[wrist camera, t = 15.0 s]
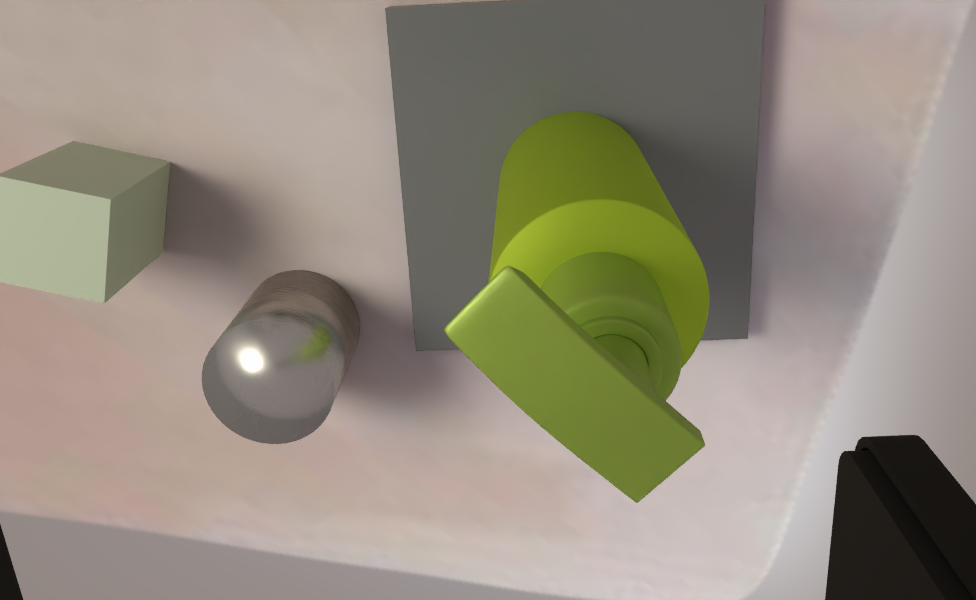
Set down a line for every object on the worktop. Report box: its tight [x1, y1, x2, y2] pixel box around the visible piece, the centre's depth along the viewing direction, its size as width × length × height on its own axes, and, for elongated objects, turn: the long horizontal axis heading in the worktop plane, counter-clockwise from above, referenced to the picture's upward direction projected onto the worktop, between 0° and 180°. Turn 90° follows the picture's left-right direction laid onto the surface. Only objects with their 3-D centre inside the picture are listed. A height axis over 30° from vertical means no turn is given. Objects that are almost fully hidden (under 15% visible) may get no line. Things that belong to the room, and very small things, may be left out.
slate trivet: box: [385, 0, 765, 351], centre depth 37 cm, size 14×14×1 cm
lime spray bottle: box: [444, 112, 709, 503], centre depth 27 cm, size 6×7×20 cm
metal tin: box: [202, 270, 360, 444], centre depth 37 cm, size 5×5×6 cm
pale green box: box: [0, 141, 170, 303], centre depth 36 cm, size 4×4×6 cm
